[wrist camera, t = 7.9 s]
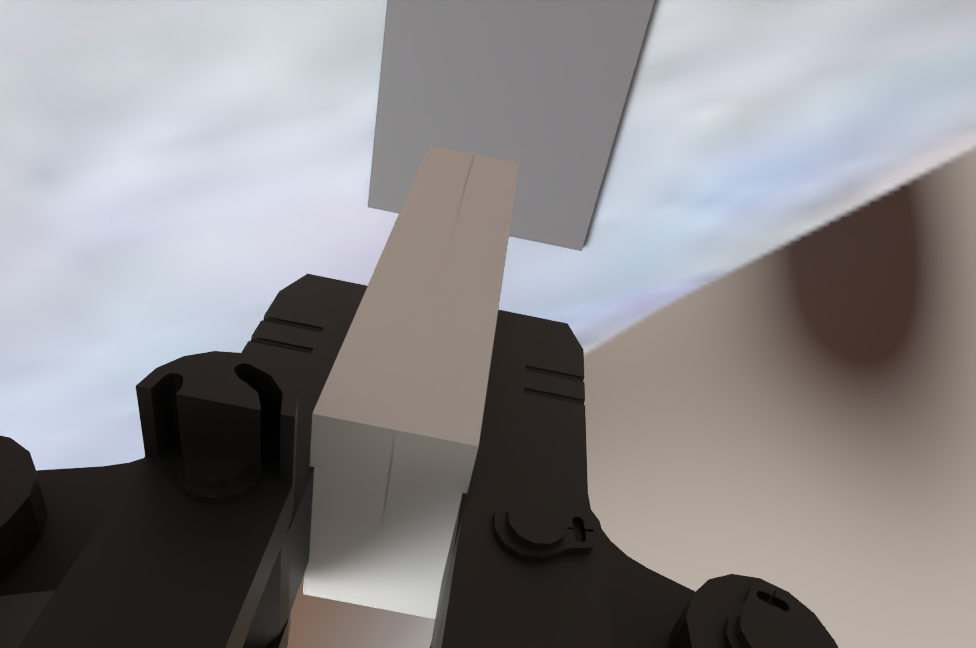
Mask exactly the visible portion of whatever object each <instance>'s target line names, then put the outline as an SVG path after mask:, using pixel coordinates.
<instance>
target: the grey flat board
mask: <svg viewBox="0 0 976 648" xmlns="http://www.w3.org/2000/svg"><path fill="white" fill-rule="evenodd" d="M654 1H655V0H387V10H386V20H385V31H384V41H383V52H382V62H381V73H380V84H379V94H378V105H377V115H376V126H375V136H374V147H373V157H372V168H371V178H370V189H369V199H368V207H370V208H375V209H380V210H385V211H390V212H395V213H400V211H401V208H402V206H403V204H404V202H405V199H406V197H407V195H408V192H409V190H410V188H411V185H412V183H413V181H414V179H415V176H416V174H417V172H418V169H419V167H420V165H421V162H422V160H423V158H424V155H425V153H426V151H427V149H428V146H429V144H430V145H435V146H440V147H445V148H449V149H454V150H459V151H464V152H469V153H473V154H478V155H483V156H488V157H493V158H498V159H502V160H507V161H512V162H517V163H519V168H518V175H517V182H516V189H515V196H514V203H513V210H512V217H511V224H510V231H509V236H511V237H516V238H521V239H526V240H531V241H536V242H540V243H545V244H550V245H555V246H560V247H565V248H570V249H574V250H579V251H582V248H583V245H584V241H585V238H586V234H587V231H588V227H589V224H590V220H591V217H592V214H593V210H594V207H595V203H596V200H597V196H598V193H599V190H600V186H601V183H602V179H603V176H604V172H605V169H606V166H607V162H608V159H609V155H610V152H611V148H612V145H613V142H614V138H615V135H616V131H617V128H618V124H619V121H620V118H621V114H622V111H623V107H624V104H625V100H626V97H627V93H628V90H629V87H630V83H631V80H632V76H633V73H634V69H635V66H636V63H637V59H638V56H639V52H640V49H641V45H642V42H643V39H644V35H645V32H646V28H647V25H648V21H649V18H650V15H651V11H652V8H653V4H654Z"/></svg>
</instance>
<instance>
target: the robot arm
mask: <svg viewBox="0 0 976 648" xmlns="http://www.w3.org/2000/svg"><path fill="white" fill-rule="evenodd" d="M518 168H519V163H517V162H512V161H507V160H502V159H498V158H493V157H488V156H483V155H478V154H473V153H469V152H464V151H459V150H454V149H449V148H445V147H440V146H435V145H430V144H429V146H428V149H427V151H426V153H425V155H424V158H423V160H422V162H421V165H420V167H419V169H418V172H417V174H416V176H415V179H414V181H413V183H412V185H411V188H410V190H409V192H408V195H407V197H406V199H405V202H404V204H403V206H402V208H401V211H400V213H399V215H398V218H397V220H396V222H395V225H394V227H393V229H392V231H391V234H390V236H389V238H388V241H387V243H386V245H385V248H384V250H383V252H382V254H381V257H380V259H379V261H378V264H377V266H376V268H375V271H374V273H373V275H372V278H371V280H370V282H369V284H368V286H365V285H360V284H355V283H351V282H346V281H341V280H336V279H331V278H326V277H321V276H316V275H311V274H307V275H305V276H303V277H302V278H300V279H299V280H297V281H295V282H294V283H292V284H291V285H289V286H287V287H286V288H284V289H282V290H281V291H279V293H278V294H277V296H276V298H275V299H274V301H273V303H272V304H271V306H270V307H269V309H268V311H267V312H266V314H265V315H264V320H263V321H261V322H260V324H259V325H258V327H257V328H256V330H255V332H254V333H253V335H252V338H251V341H248V343H247V345H246V346H245V348H244V349H243V351H242V353H233V352H219V351H213V352H207V353H201V354H195V355H189V356H183V357H181V358H179V359H176V360H174V361H172V362H169V363H167V364H165V365H163V366H160V367H158V368H156V369H155V370H154V371H152V372H151V373H150V374H149V375H148V376H147V377H146V378H144V379H143V380H142V381H141V382H140V383H139V384H138V385H136V391H137V399H138V406H139V413H140V420H141V428H142V435H143V442H144V449H145V457H144V458H143V459H140V460H136V461H133V462H130V463H124V464H117V465H110V466H103V467H87V468H71V469H55V470H38V471H36V469H35V466H34V464H33V461H32V458H31V455H30V452H29V451H28V450H26V449H25V448H23V447H22V446H21V445H19V444H18V443H17V442H15V441H14V440H13V439H11V438H9V437H4V436H0V648H287V645H288V637H289V629H290V616H291V609H292V606H293V603H294V600H295V598H296V595H297V592H298V589H299V586H300V584H301V581H302V578H303V575H304V587H303V594H306V595H311V596H317V597H322V598H328V599H332V600H338V601H343V602H348V603H353V604H359V605H364V606H369V607H375V608H380V609H385V610H391V611H396V612H401V613H407V614H412V615H417V616H422V617H427V618H433V619H435V624H434V630H433V636H432V642H431V646H430V648H838V646H837V644H836V643H835V641H834V639H833V638H832V637H831V635H830V634H829V633H828V631H827V630H826V629H825V627H824V626H823V625H822V623H821V622H820V621H819V619H818V618H817V617H816V615H815V614H814V613H813V612H812V611H811V610H809V609H808V608H807V607H806V606H805V605H803V604H802V603H801V602H799V600H797V599H796V598H795V597H794V596H792V595H791V594H790V593H789V592H787V591H785V590H783V589H781V588H779V587H777V586H774V585H772V584H770V583H768V582H766V581H764V580H762V579H760V578H754V577H748V576H741V575H735V574H730V575H726V576H722V577H717V578H713V579H709V580H708V581H707V582H706V583H705V584H704V585H702V586H701V587H700V588H699V589H698V590H697V591H696V592H695V591H693V590H691V589H689V588H687V587H685V586H683V585H681V584H678V583H676V582H674V581H672V580H670V579H668V578H666V577H664V576H662V575H660V574H658V573H656V572H654V571H652V570H650V569H648V568H646V567H645V566H643V565H641V564H640V563H638V562H636V561H635V560H633V559H632V558H630V557H628V556H627V555H626V554H624V552H622V551H621V550H620V549H619V548H618V547H617V546H616V545H614V544H613V543H612V542H611V541H610V539H609V538H608V537H607V536H606V534H605V533H604V532H603V530H602V529H601V525H600V522H599V520H598V518H597V517H596V516H595V514H594V513H593V512H592V511H591V508H590V503H589V497H588V486H587V457H586V423H585V422H586V421H585V405H584V401H585V389H584V382H583V380H584V355H583V348H582V347H581V345H580V344H579V342H578V340H577V339H576V337H575V335H574V334H573V332H572V330H571V329H570V327H569V325H568V324H567V323H562V322H557V321H552V320H547V319H542V318H537V317H532V316H527V315H522V314H517V313H512V312H507V311H502V310H498V308H499V301H500V294H501V287H502V280H503V273H504V266H505V259H506V252H507V245H508V238H509V231H510V224H511V217H512V210H513V203H514V196H515V189H516V182H517V175H518Z"/></svg>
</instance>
